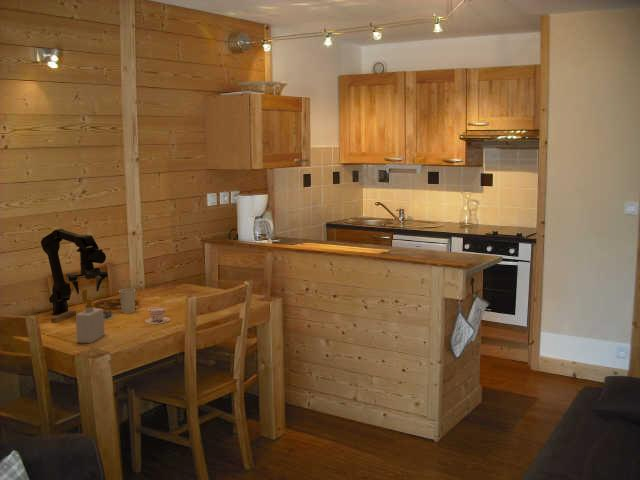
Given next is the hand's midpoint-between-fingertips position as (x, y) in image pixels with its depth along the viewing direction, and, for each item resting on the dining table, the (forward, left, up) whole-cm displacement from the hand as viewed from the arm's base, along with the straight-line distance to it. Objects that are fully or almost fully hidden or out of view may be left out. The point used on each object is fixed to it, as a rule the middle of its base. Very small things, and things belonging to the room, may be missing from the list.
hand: (87, 292), depth 342 cm
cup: (+14, +12, -13) cm, 23 cm away
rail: (-10, -7, -13) cm, 18 cm away
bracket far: (+6, 0, -12) cm, 14 cm away
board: (+6, -4, -13) cm, 15 cm away
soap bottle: (+20, -32, -13) cm, 40 cm away
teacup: (+35, +3, -13) cm, 38 cm away
